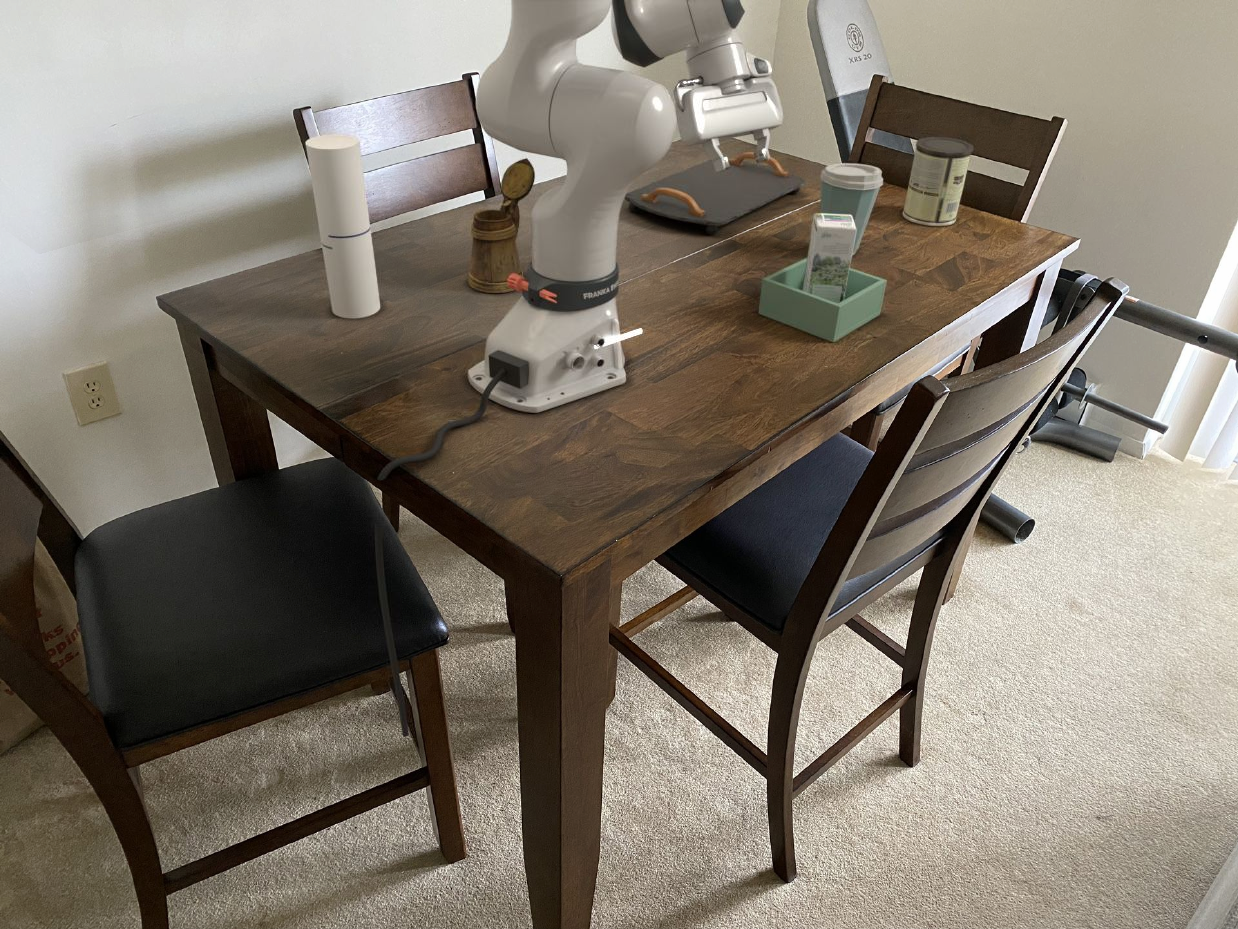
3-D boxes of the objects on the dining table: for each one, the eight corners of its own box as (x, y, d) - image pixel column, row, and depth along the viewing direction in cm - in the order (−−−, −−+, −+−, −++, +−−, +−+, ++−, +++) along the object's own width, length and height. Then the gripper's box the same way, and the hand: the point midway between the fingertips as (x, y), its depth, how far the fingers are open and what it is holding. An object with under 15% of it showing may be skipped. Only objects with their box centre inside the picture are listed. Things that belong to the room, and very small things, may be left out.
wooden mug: (551, 271, 156) (550, 163, 146) (499, 298, 147) (494, 185, 137) (510, 258, 160) (506, 152, 150) (457, 284, 151) (448, 173, 141)
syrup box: (836, 302, 148) (852, 212, 139) (841, 318, 143) (857, 226, 134) (800, 300, 148) (813, 210, 140) (803, 316, 143) (817, 224, 135)
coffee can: (911, 204, 189) (926, 133, 181) (962, 215, 184) (980, 142, 176) (894, 219, 182) (909, 145, 174) (947, 230, 177) (964, 155, 169)
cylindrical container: (368, 320, 139) (345, 151, 125) (323, 315, 140) (296, 146, 126) (387, 301, 145) (367, 136, 131) (344, 295, 146) (320, 132, 132)
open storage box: (833, 342, 138) (839, 306, 134) (758, 313, 145) (762, 278, 142) (880, 314, 146) (887, 280, 143) (806, 288, 153) (811, 255, 150)
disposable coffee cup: (796, 248, 168) (808, 164, 159) (834, 235, 174) (847, 153, 165) (843, 267, 161) (859, 180, 153) (881, 252, 167) (898, 168, 159)
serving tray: (711, 243, 168) (714, 210, 165) (610, 213, 180) (611, 181, 176) (813, 191, 194) (818, 161, 190) (720, 167, 205) (722, 138, 202)
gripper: (685, 72, 132) (712, 169, 135) (777, 61, 144) (800, 150, 147) (656, 88, 137) (682, 182, 140) (747, 76, 149) (770, 162, 152)
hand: (743, 166), depth 143 cm, fingers open, 8 cm apart
